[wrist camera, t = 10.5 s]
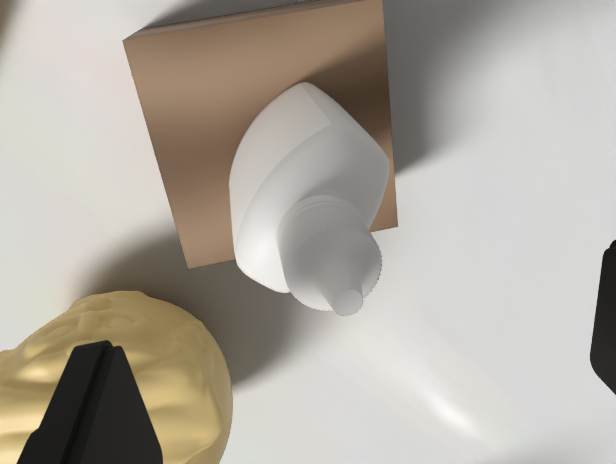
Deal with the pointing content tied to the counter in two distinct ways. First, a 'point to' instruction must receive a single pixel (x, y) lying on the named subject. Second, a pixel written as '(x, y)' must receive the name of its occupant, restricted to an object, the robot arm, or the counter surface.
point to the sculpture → (145, 367)
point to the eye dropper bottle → (308, 201)
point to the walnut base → (251, 99)
